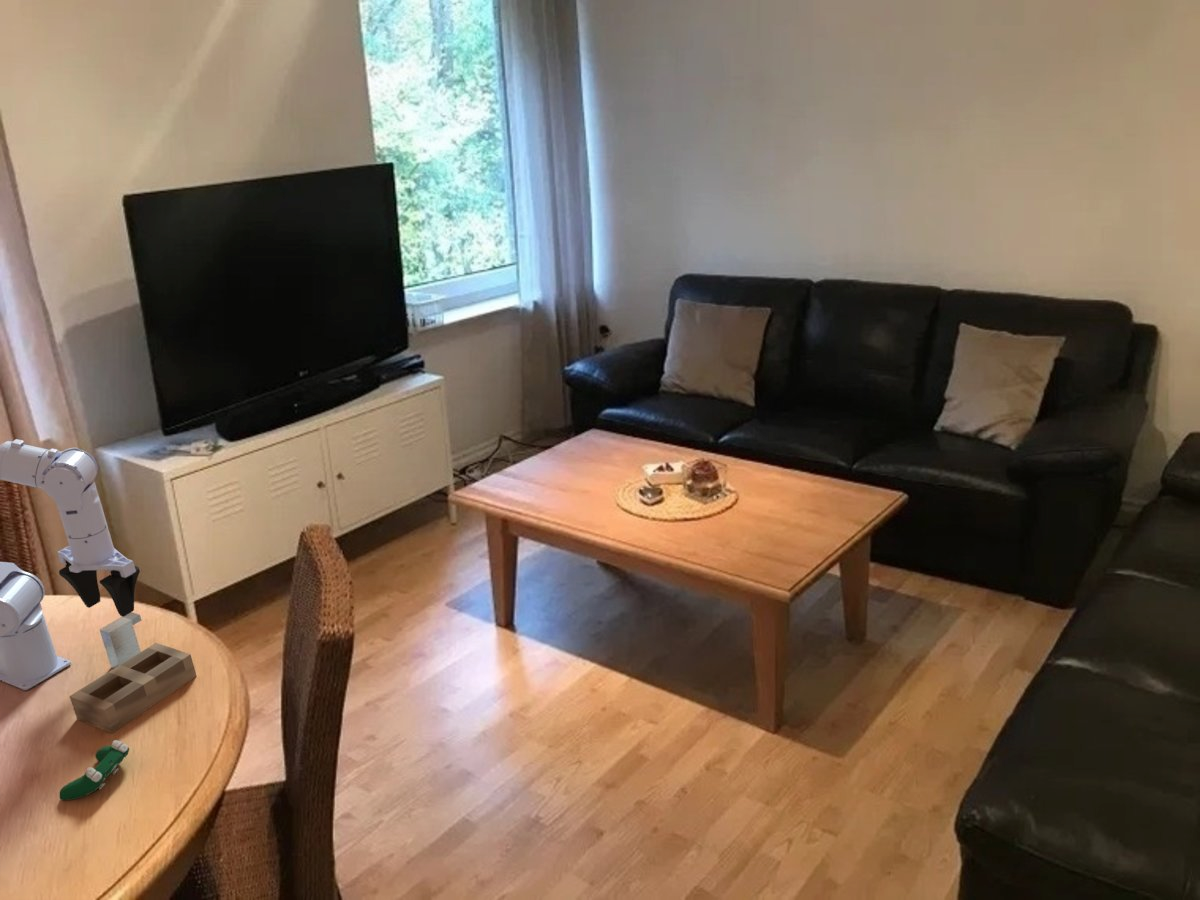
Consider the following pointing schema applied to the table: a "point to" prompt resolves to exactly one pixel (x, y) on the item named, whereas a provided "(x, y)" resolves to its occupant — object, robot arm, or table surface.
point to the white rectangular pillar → (121, 639)
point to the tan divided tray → (133, 687)
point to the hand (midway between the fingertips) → (110, 608)
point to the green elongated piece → (96, 772)
